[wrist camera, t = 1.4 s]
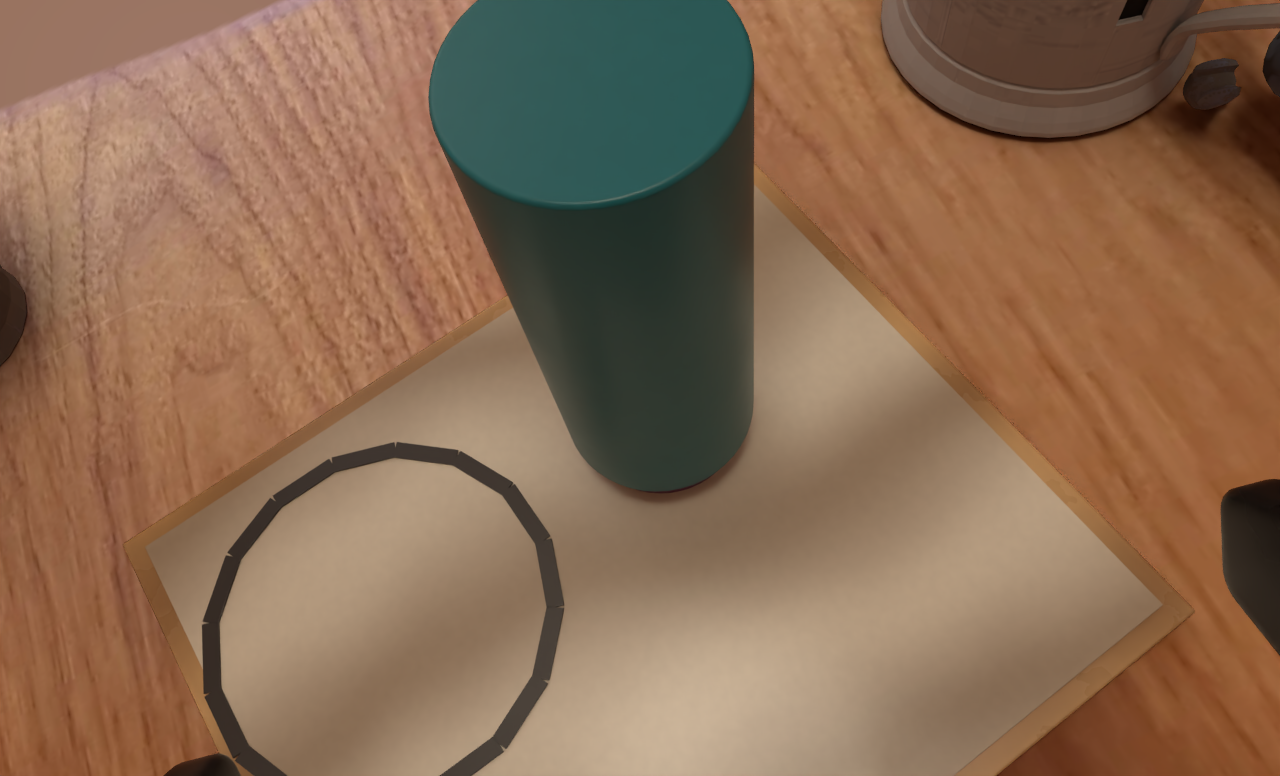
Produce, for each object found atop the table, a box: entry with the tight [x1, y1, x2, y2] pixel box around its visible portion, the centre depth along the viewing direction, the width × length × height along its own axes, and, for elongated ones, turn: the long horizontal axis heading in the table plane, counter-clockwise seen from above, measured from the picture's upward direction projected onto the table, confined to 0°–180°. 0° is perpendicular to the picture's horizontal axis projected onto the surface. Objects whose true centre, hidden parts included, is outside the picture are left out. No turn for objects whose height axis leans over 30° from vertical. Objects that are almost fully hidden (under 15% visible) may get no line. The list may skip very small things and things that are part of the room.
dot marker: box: [428, 0, 754, 493], centre depth 19 cm, size 4×4×12 cm
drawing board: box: [123, 163, 1195, 776], centre depth 23 cm, size 16×19×1 cm
